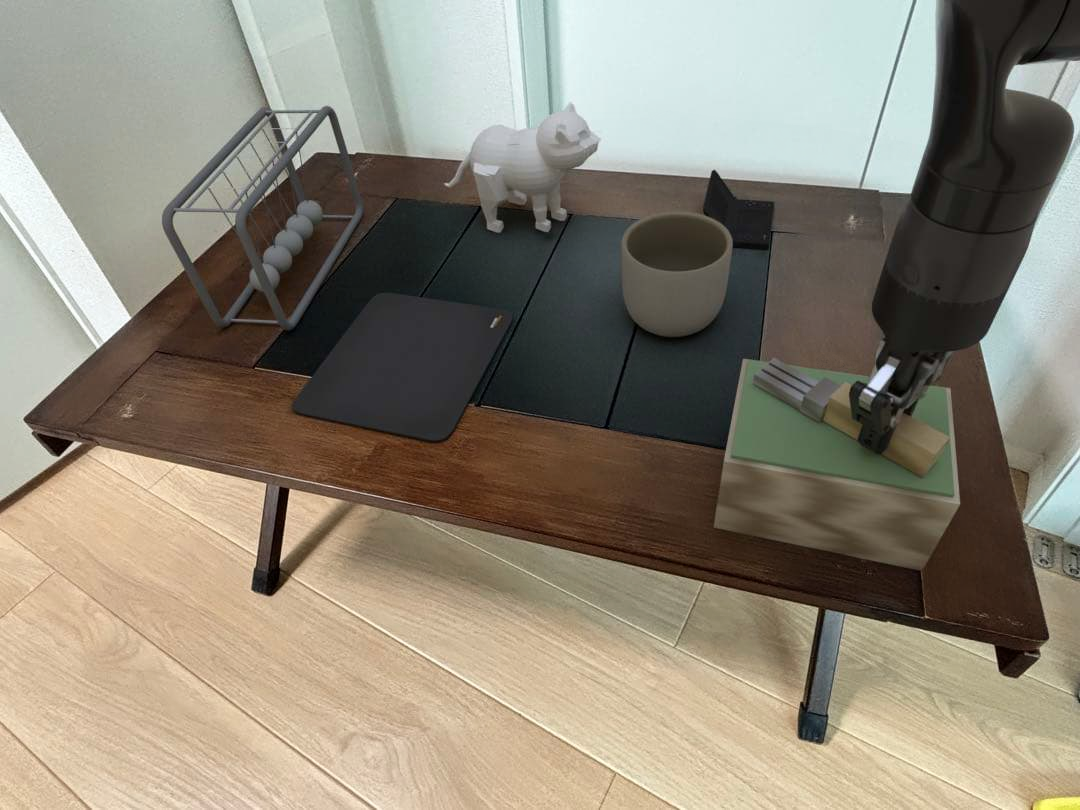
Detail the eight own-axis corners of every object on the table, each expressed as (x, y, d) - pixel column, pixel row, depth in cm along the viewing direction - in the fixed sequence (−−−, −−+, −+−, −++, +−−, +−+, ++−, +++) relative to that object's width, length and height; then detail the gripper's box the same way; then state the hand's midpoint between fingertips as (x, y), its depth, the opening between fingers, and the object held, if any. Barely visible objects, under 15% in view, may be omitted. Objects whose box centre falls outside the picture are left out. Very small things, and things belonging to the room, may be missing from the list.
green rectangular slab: (944, 391, 63) (946, 387, 63) (953, 498, 56) (954, 494, 56) (747, 362, 68) (748, 359, 68) (730, 457, 60) (731, 454, 60)
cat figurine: (434, 228, 108) (410, 121, 95) (462, 192, 114) (442, 87, 102) (595, 248, 100) (590, 134, 88) (614, 208, 107) (612, 97, 95)
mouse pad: (446, 445, 77) (445, 443, 77) (286, 411, 83) (286, 410, 83) (517, 313, 92) (516, 311, 92) (377, 292, 97) (376, 290, 97)
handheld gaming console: (786, 238, 95) (745, 181, 91) (739, 268, 99) (697, 214, 95) (776, 203, 104) (738, 149, 100) (733, 232, 108) (694, 181, 104)
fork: (940, 458, 58) (953, 434, 56) (920, 481, 56) (932, 457, 54) (772, 366, 67) (777, 341, 64) (751, 383, 65) (756, 359, 63)
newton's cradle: (290, 338, 93) (236, 217, 80) (217, 334, 94) (153, 216, 82) (366, 212, 113) (333, 99, 100) (305, 211, 115) (264, 100, 102)
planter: (720, 353, 84) (730, 277, 76) (614, 344, 86) (613, 269, 78) (725, 287, 92) (735, 213, 84) (629, 281, 94) (629, 208, 87)
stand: (917, 459, 71) (950, 388, 64) (922, 571, 63) (960, 504, 55) (732, 427, 76) (743, 358, 69) (713, 527, 67) (723, 461, 60)
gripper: (952, 342, 42) (877, 513, 54) (1057, 238, 48) (967, 414, 60) (837, 289, 46) (791, 459, 58) (946, 200, 52) (883, 372, 64)
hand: (881, 436), depth 59 cm, fingers closed on fork, 2 cm apart
